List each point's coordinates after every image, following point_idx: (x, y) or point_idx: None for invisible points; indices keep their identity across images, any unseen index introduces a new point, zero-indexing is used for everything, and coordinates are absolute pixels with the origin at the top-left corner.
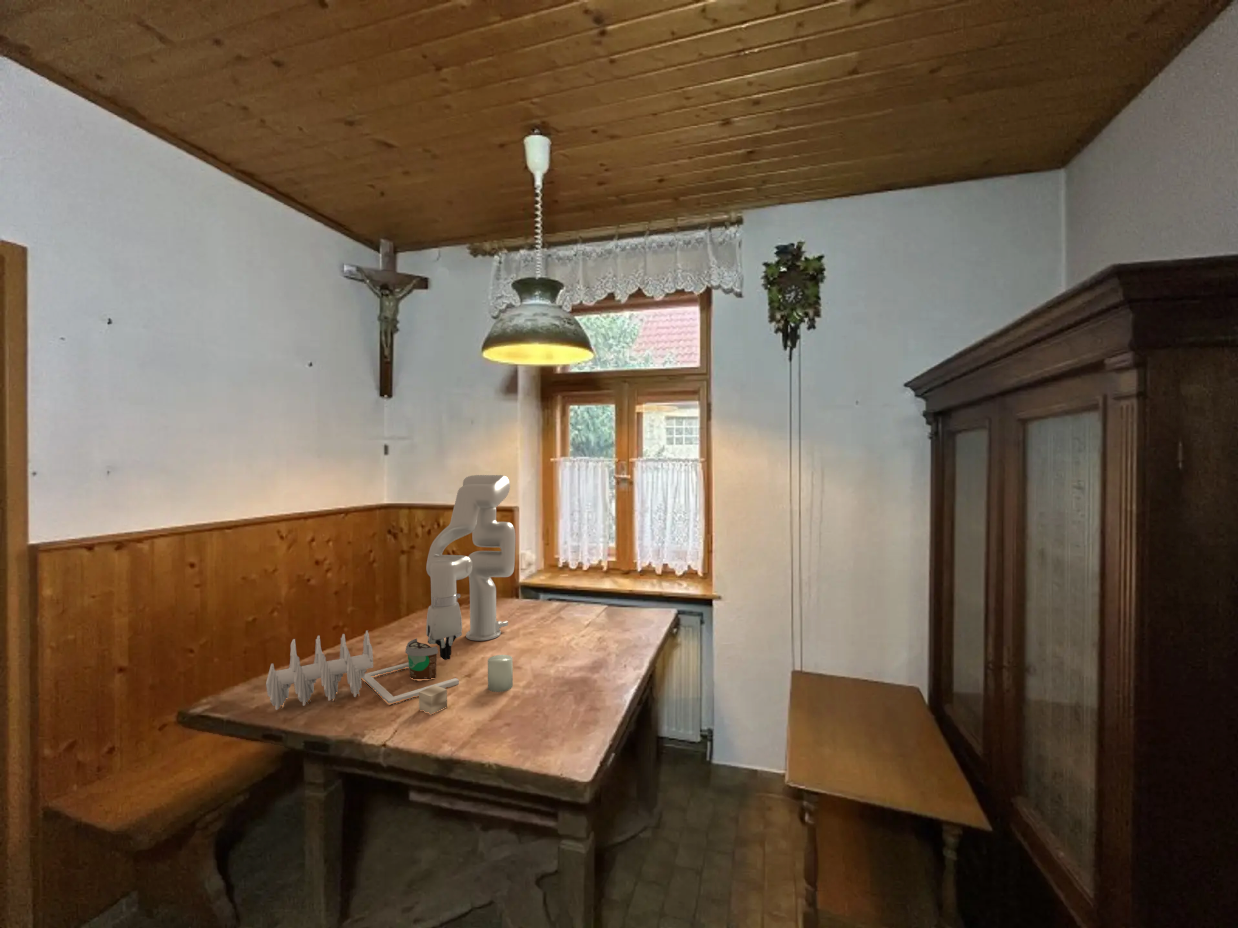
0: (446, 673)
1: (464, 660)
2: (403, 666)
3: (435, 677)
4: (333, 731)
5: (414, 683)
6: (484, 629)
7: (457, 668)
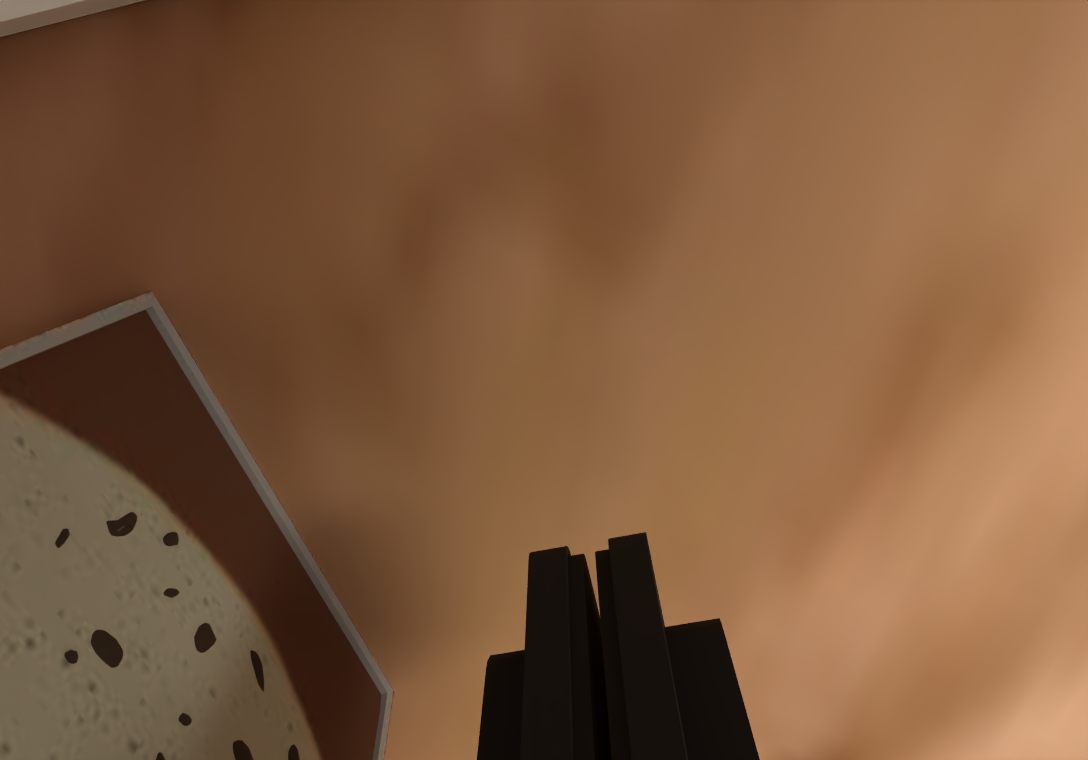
0: None
1: (1027, 221)
2: None
3: (390, 702)
4: None
5: None
6: None
7: (771, 516)
